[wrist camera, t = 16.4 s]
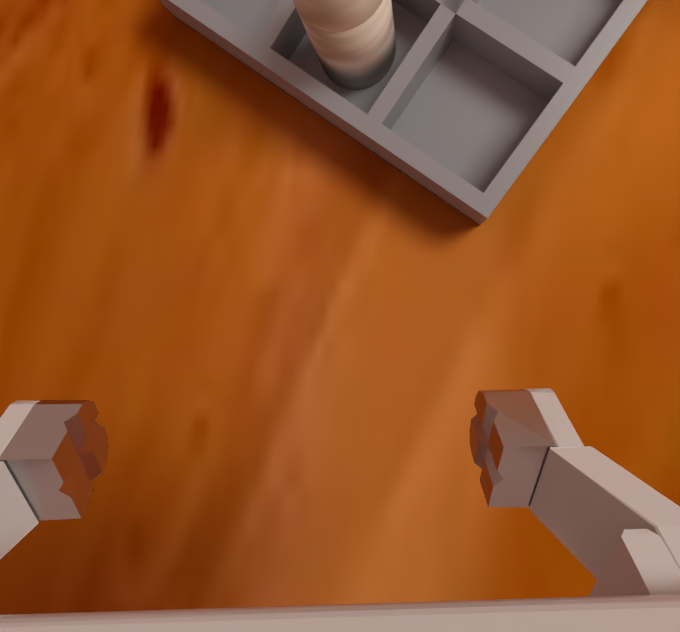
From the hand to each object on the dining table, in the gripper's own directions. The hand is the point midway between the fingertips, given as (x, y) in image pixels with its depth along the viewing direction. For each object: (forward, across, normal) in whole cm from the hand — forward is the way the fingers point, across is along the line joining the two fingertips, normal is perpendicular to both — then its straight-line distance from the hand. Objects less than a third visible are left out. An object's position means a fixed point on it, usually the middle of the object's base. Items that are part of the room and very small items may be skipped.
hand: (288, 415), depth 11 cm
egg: (+28, -3, -4) cm, 28 cm away
